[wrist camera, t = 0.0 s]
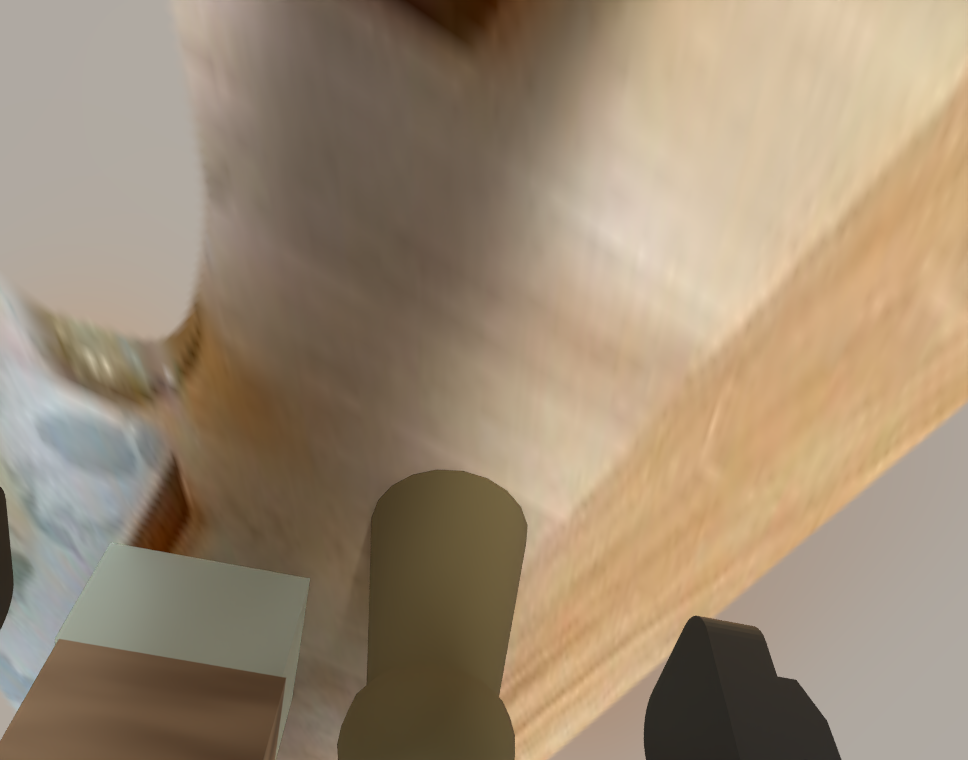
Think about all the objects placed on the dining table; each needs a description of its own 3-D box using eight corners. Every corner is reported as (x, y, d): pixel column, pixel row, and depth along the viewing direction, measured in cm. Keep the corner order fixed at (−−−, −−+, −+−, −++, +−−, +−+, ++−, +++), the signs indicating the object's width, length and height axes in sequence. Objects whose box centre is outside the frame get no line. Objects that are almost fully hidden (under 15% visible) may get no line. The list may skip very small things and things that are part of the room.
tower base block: (112, 538, 34) (54, 639, 30) (311, 574, 34) (281, 677, 30) (117, 665, 38) (66, 768, 34) (293, 695, 39) (265, 799, 35)
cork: (448, 607, 35) (422, 885, 26) (338, 525, 33) (267, 798, 23) (560, 535, 32) (575, 815, 23) (449, 442, 30) (418, 710, 21)
